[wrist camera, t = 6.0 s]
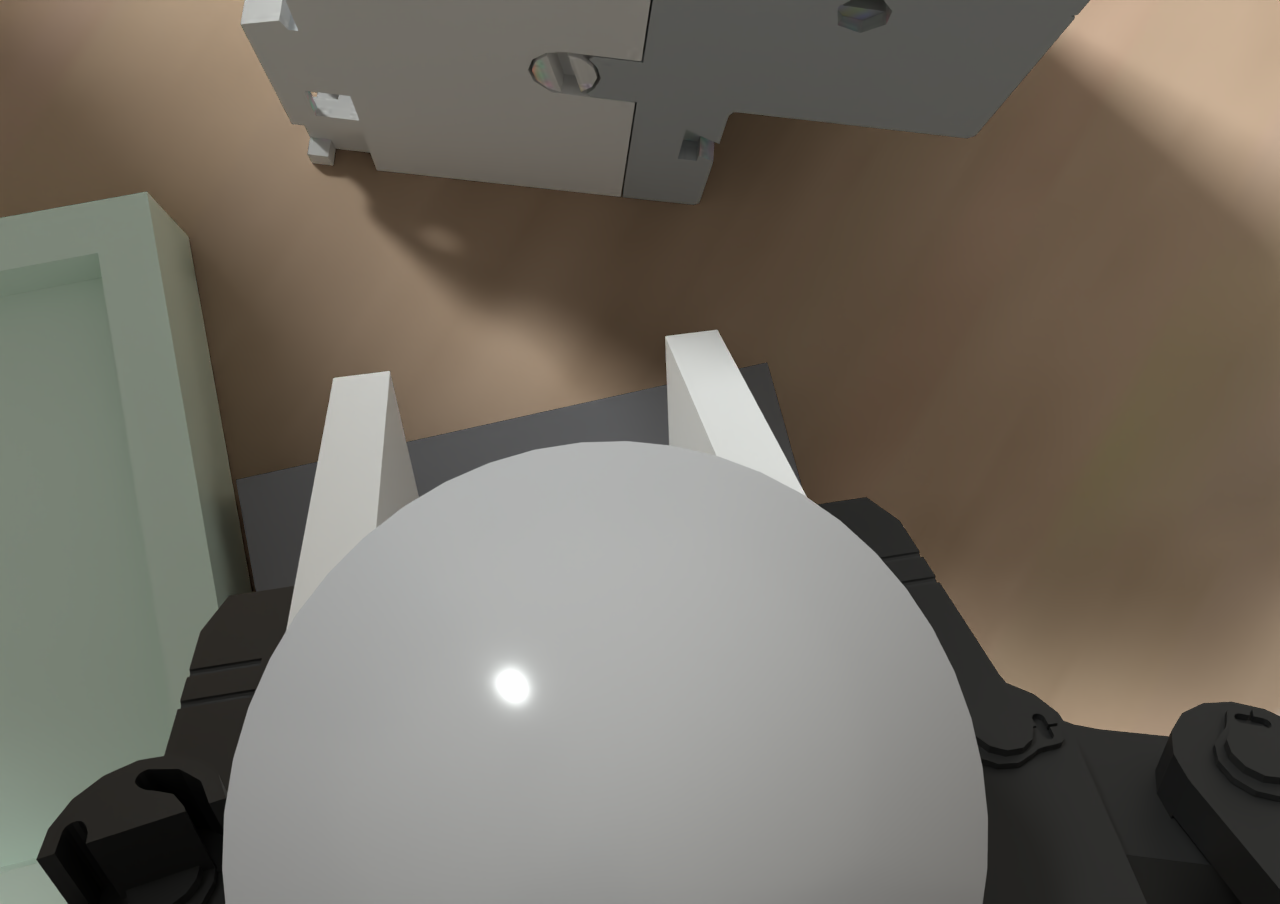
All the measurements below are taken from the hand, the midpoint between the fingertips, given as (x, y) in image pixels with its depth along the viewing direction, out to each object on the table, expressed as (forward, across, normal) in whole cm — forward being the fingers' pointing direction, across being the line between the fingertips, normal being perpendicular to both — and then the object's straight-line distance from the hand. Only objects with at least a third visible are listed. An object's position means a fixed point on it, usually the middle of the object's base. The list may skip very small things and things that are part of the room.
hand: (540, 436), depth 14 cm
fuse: (0, 0, -5) cm, 5 cm away
